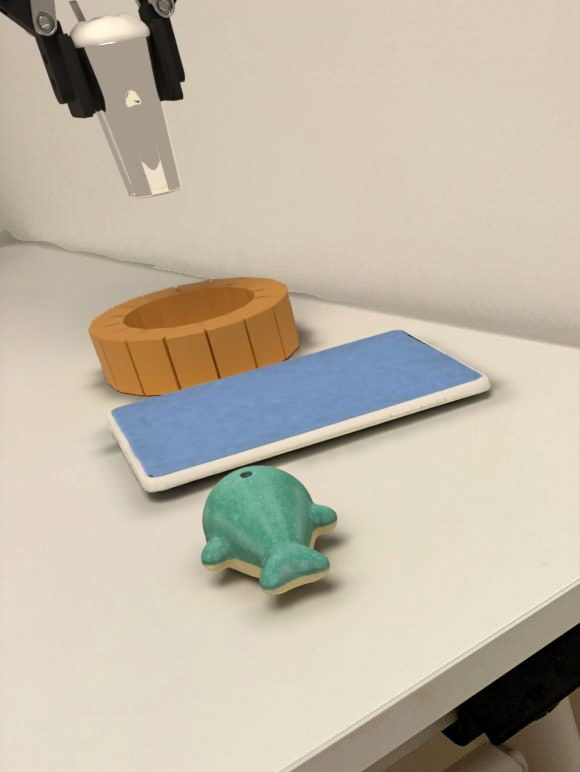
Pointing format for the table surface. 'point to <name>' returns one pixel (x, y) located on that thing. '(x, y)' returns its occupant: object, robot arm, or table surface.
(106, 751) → the table surface
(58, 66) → the robot arm
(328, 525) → the whale figurine
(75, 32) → the milkshake
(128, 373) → the segmented bracelet
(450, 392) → the tablet
